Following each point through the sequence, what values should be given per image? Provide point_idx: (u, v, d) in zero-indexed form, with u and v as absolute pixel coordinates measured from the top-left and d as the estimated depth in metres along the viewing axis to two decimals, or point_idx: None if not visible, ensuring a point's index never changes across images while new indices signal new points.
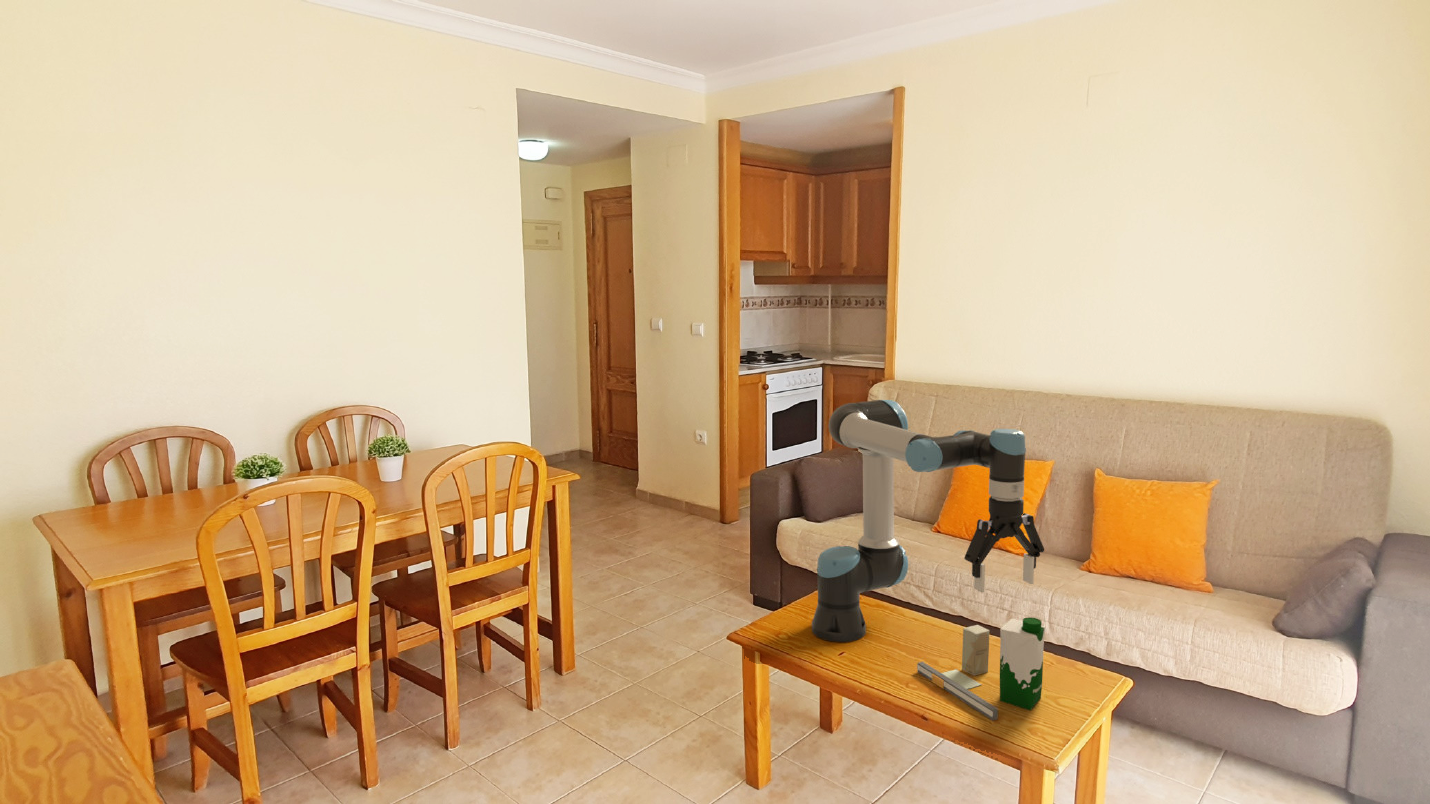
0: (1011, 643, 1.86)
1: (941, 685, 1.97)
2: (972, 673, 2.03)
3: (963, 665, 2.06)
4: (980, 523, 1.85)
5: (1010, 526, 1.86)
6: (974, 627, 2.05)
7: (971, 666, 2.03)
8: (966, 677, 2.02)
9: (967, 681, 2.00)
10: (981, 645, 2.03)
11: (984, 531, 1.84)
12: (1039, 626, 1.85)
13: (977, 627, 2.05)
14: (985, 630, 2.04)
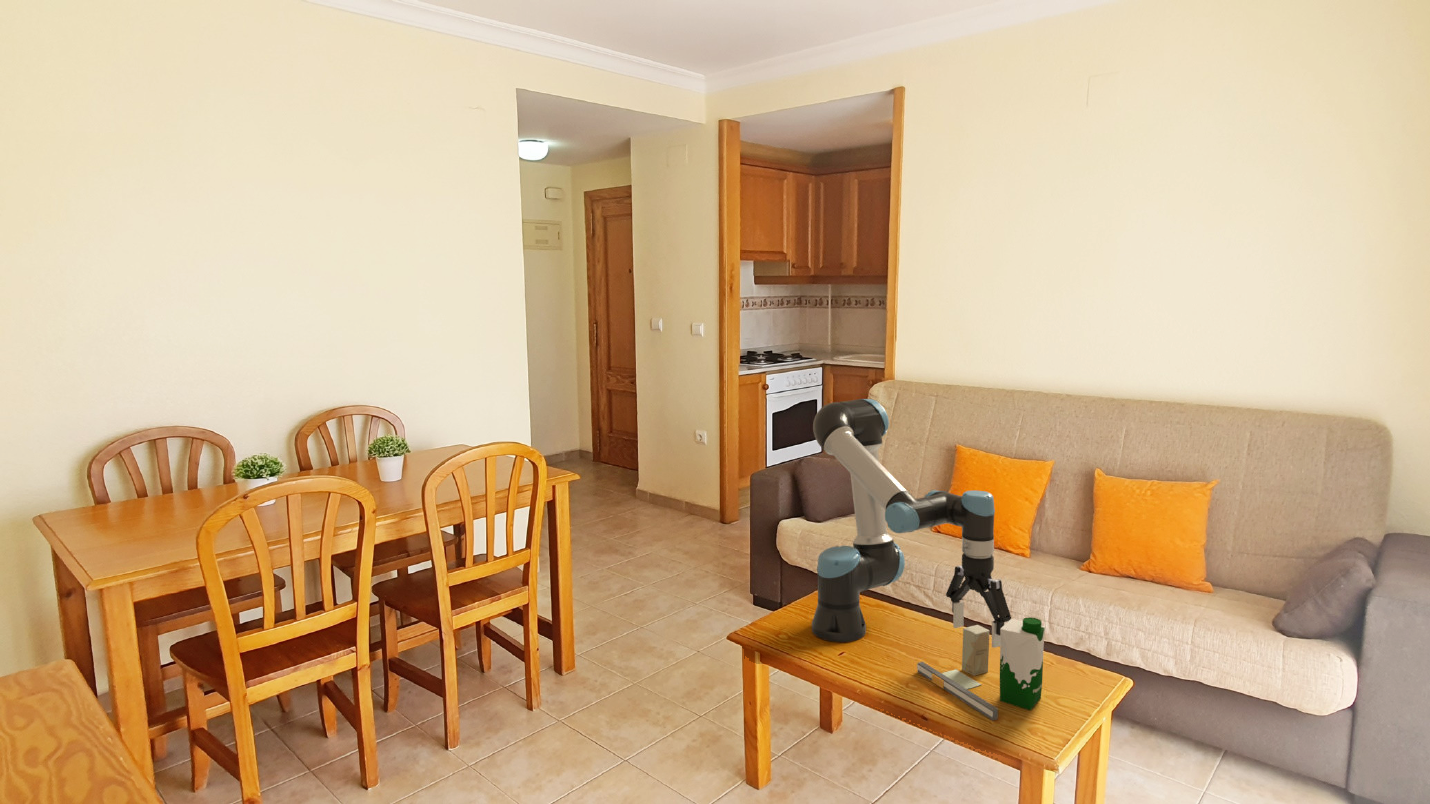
0: (1011, 643, 1.86)
1: (941, 685, 1.97)
2: (972, 673, 2.03)
3: (963, 665, 2.06)
4: None
5: None
6: (974, 627, 2.05)
7: (971, 666, 2.03)
8: (966, 677, 2.02)
9: (967, 681, 2.00)
10: (981, 645, 2.03)
11: (955, 574, 2.08)
12: (1039, 626, 1.85)
13: (977, 627, 2.05)
14: (985, 630, 2.04)
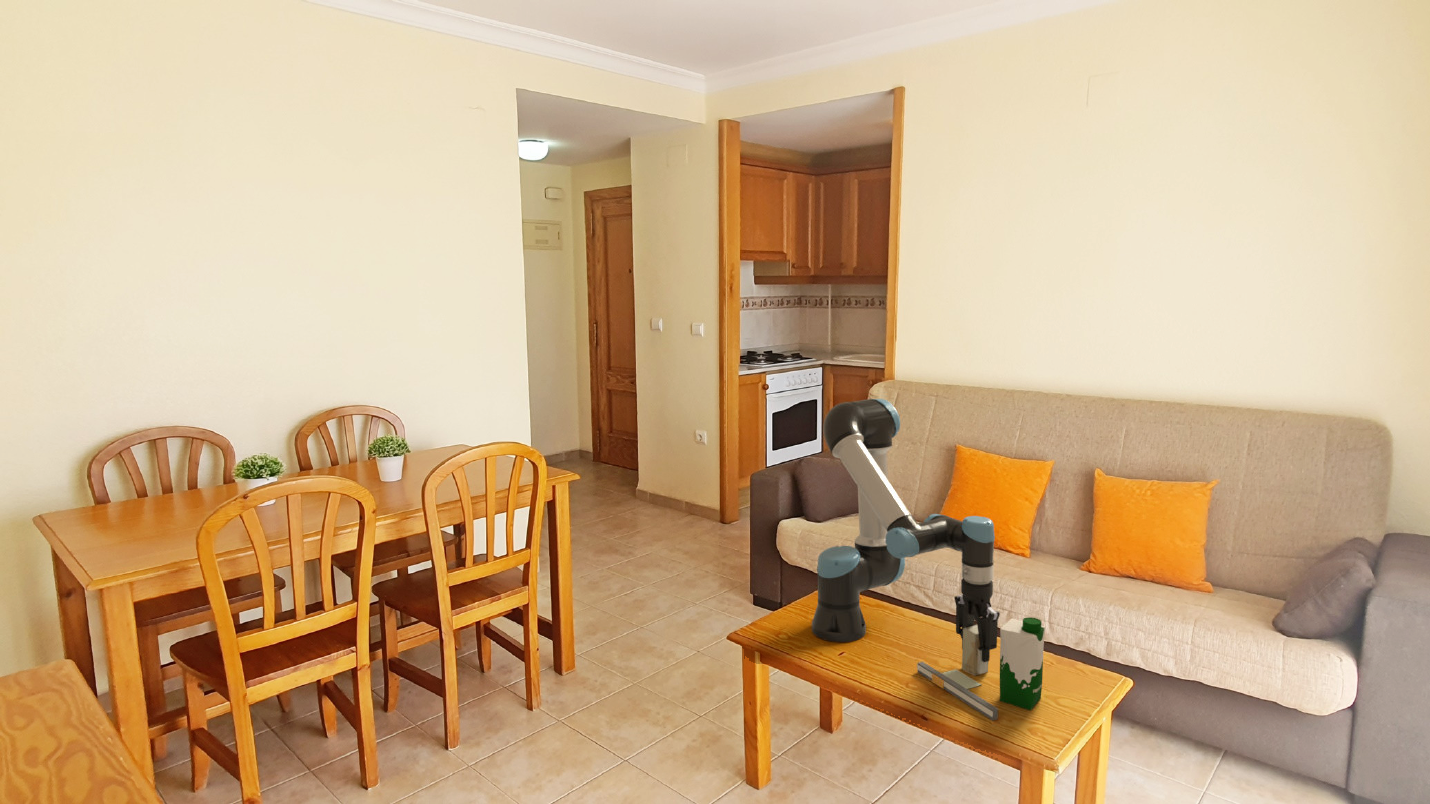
0: (1011, 643, 1.86)
1: (941, 685, 1.97)
2: (972, 673, 2.03)
3: (963, 665, 2.06)
4: None
5: (974, 604, 2.02)
6: (974, 627, 2.05)
7: (971, 666, 2.03)
8: (966, 677, 2.02)
9: (967, 681, 2.00)
10: None
11: (956, 605, 2.08)
12: (1039, 626, 1.85)
13: (977, 627, 2.05)
14: None
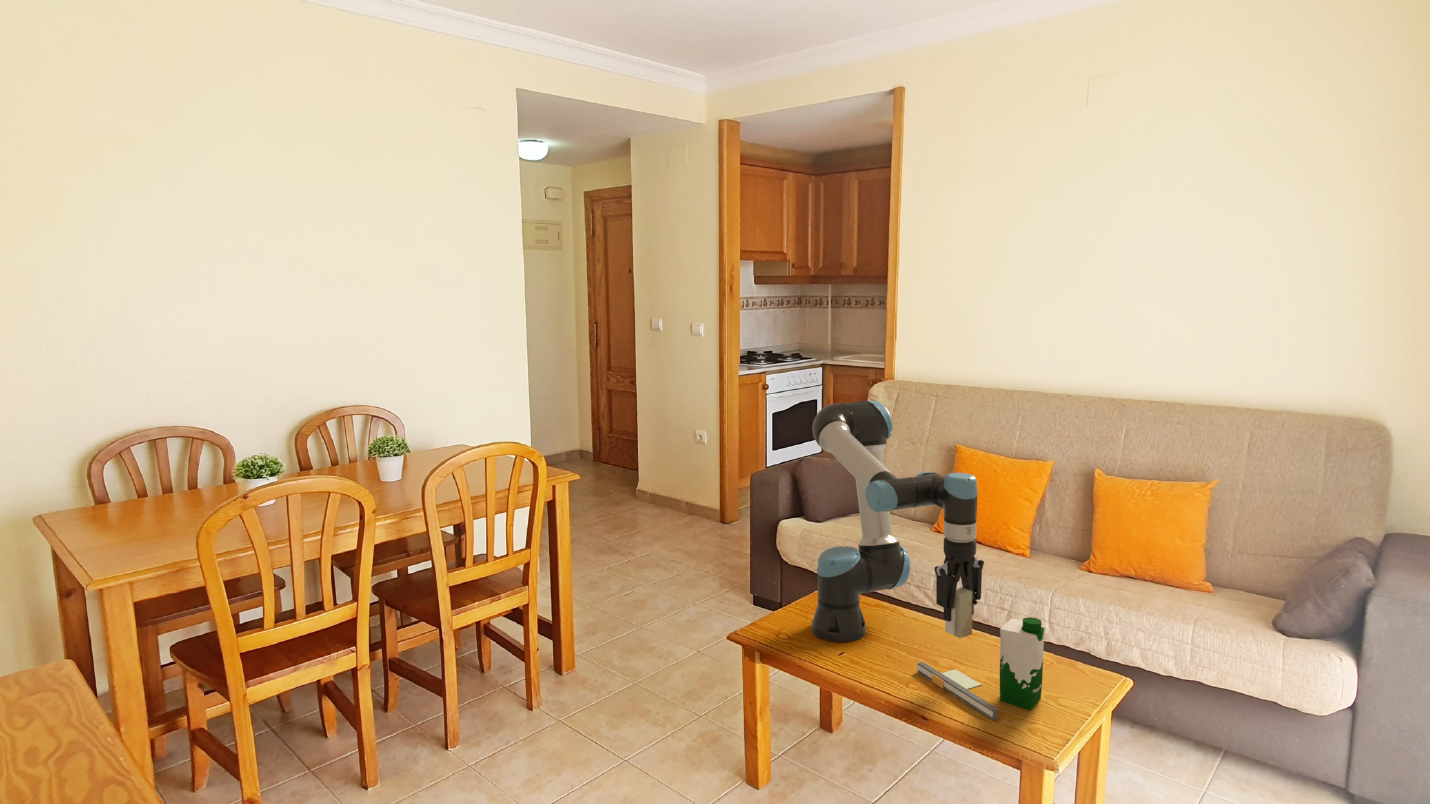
0: (1011, 643, 1.86)
1: (941, 685, 1.97)
2: (971, 633, 1.98)
3: (961, 632, 1.96)
4: (938, 571, 1.94)
5: (964, 564, 1.96)
6: None
7: (969, 626, 1.97)
8: (966, 677, 2.02)
9: (967, 681, 2.00)
10: None
11: (944, 577, 1.94)
12: (1039, 626, 1.85)
13: None
14: (959, 586, 2.00)
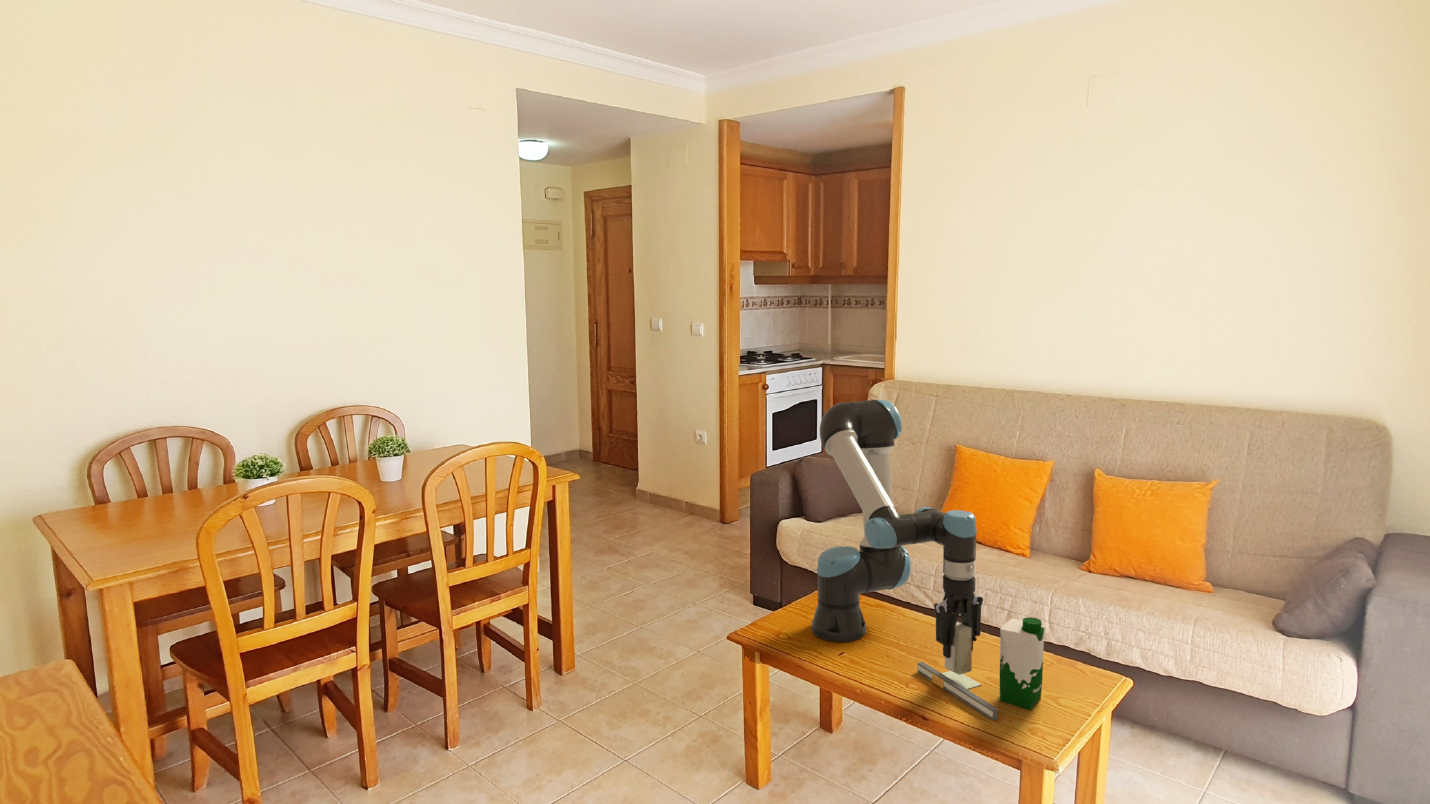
0: (1011, 643, 1.86)
1: (941, 685, 1.97)
2: (970, 669, 1.99)
3: (961, 669, 1.97)
4: (937, 608, 1.95)
5: (963, 601, 1.97)
6: None
7: (969, 663, 1.98)
8: (966, 677, 2.02)
9: (967, 681, 2.00)
10: None
11: (943, 614, 1.95)
12: (1039, 626, 1.85)
13: None
14: (959, 623, 2.01)
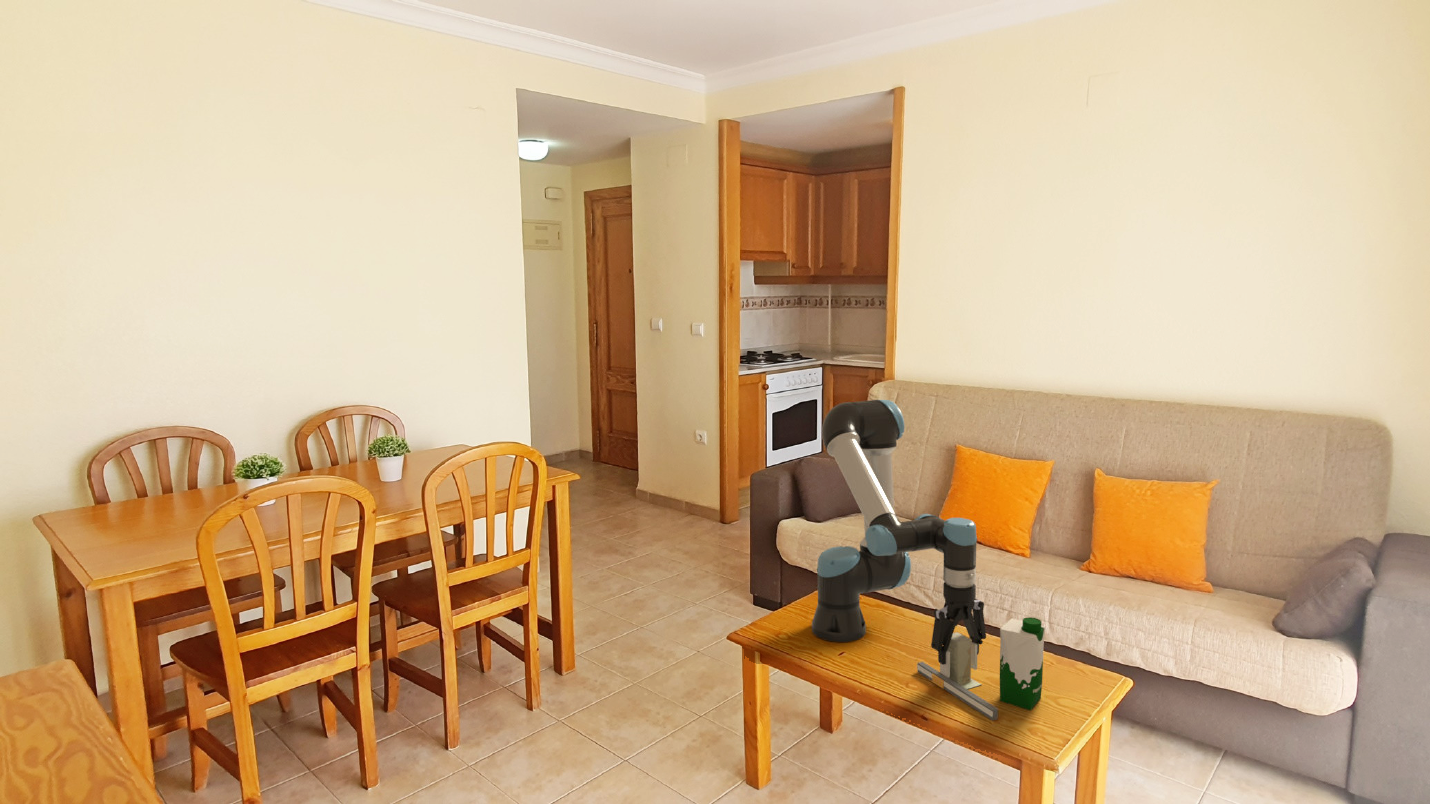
0: (1011, 643, 1.86)
1: (941, 685, 1.97)
2: (969, 680, 1.99)
3: (960, 679, 1.98)
4: (937, 613, 1.96)
5: (963, 609, 1.98)
6: (954, 637, 1.99)
7: (968, 673, 1.99)
8: None
9: None
10: None
11: (942, 620, 1.95)
12: (1039, 626, 1.85)
13: (953, 635, 2.00)
14: (958, 633, 2.02)
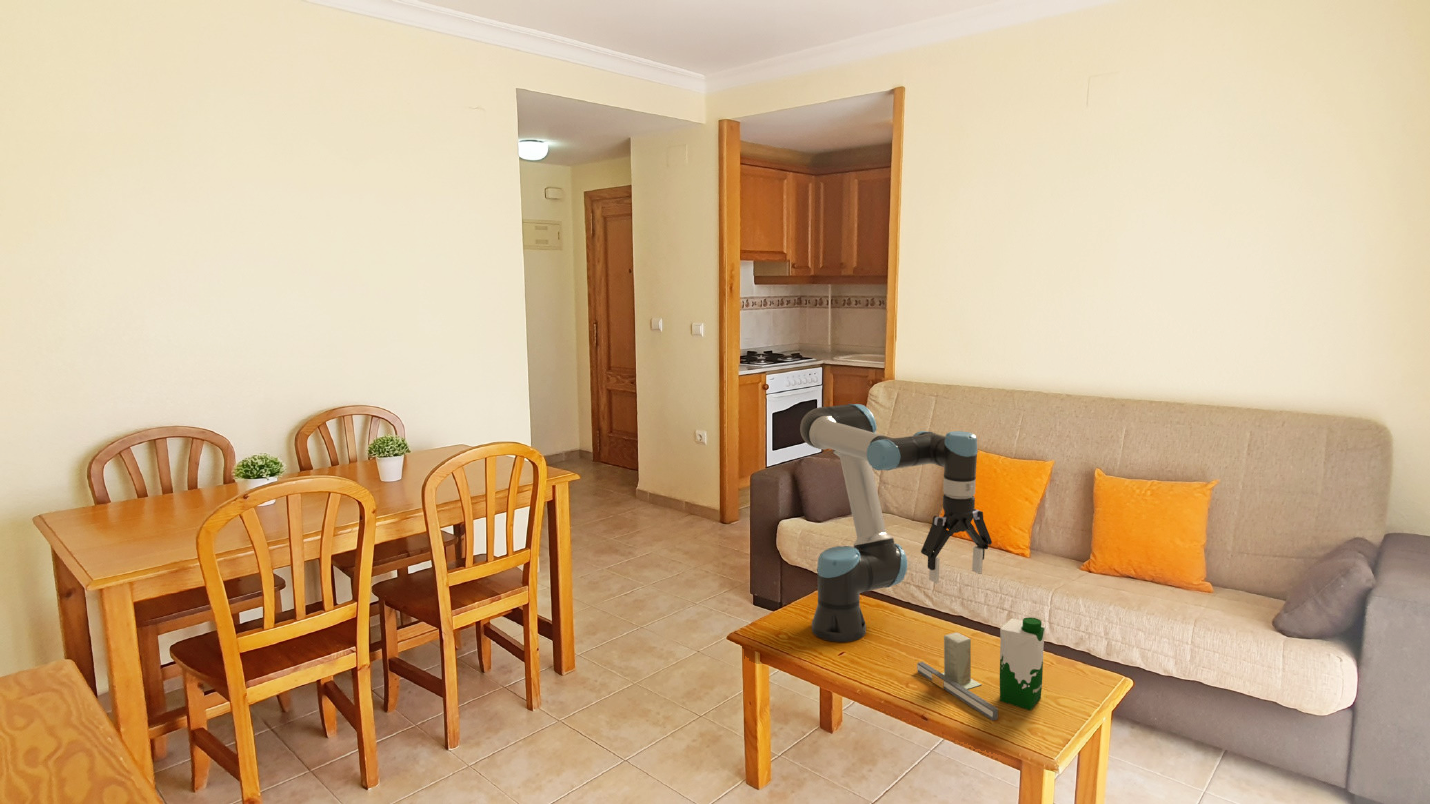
0: (1011, 643, 1.86)
1: (941, 685, 1.97)
2: (969, 680, 1.99)
3: (960, 679, 1.98)
4: (936, 519, 1.99)
5: (962, 521, 2.01)
6: (953, 637, 1.99)
7: (968, 673, 1.99)
8: None
9: None
10: None
11: (939, 527, 1.98)
12: (1039, 626, 1.85)
13: (953, 635, 2.00)
14: (958, 633, 2.02)
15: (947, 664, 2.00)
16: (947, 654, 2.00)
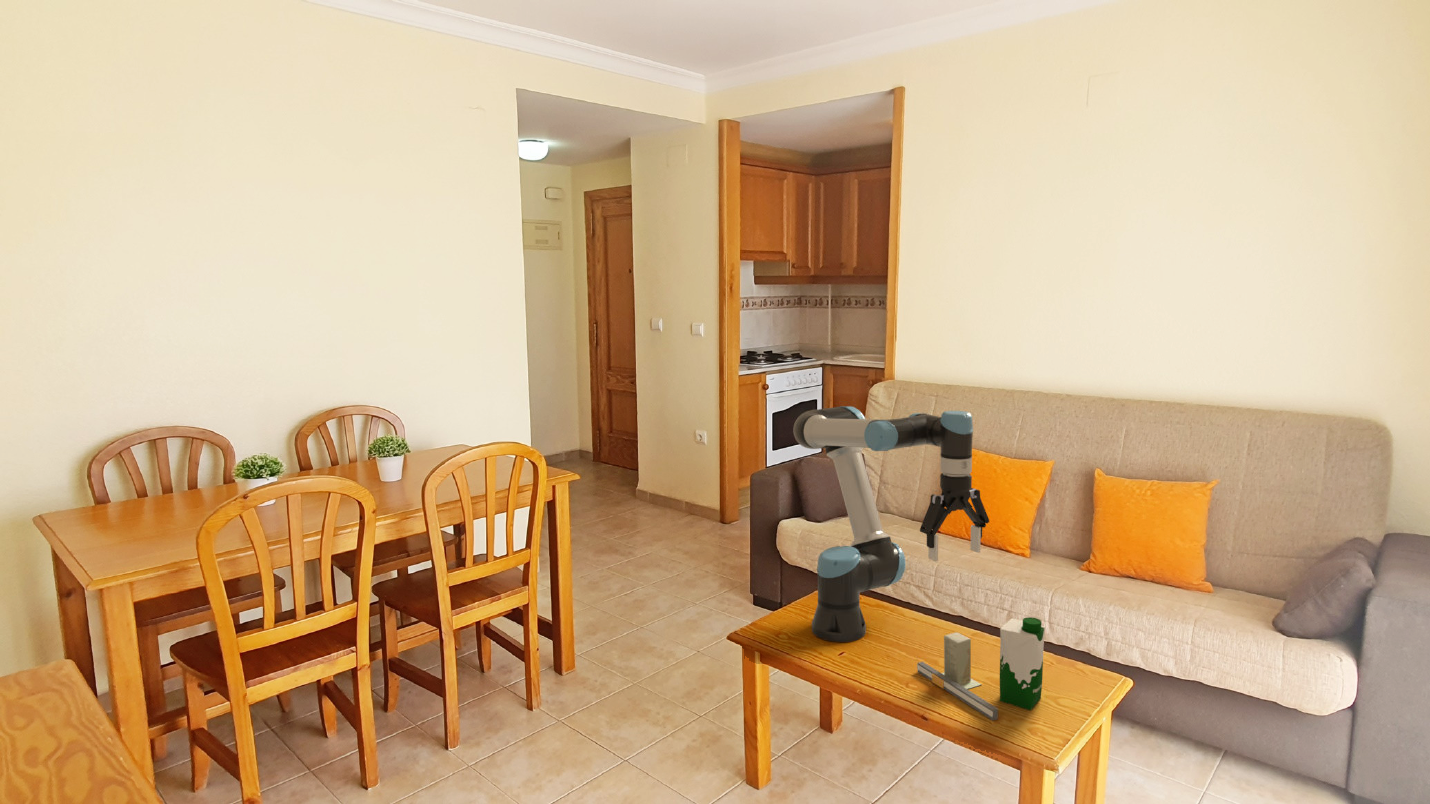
0: (1011, 643, 1.86)
1: (941, 685, 1.97)
2: (969, 680, 1.99)
3: (960, 679, 1.98)
4: (934, 497, 2.01)
5: (960, 500, 2.03)
6: (953, 637, 1.99)
7: (968, 673, 1.99)
8: None
9: None
10: None
11: (937, 505, 2.00)
12: (1039, 626, 1.85)
13: (953, 635, 2.00)
14: (958, 633, 2.02)
15: (947, 664, 2.00)
16: (947, 654, 2.00)
